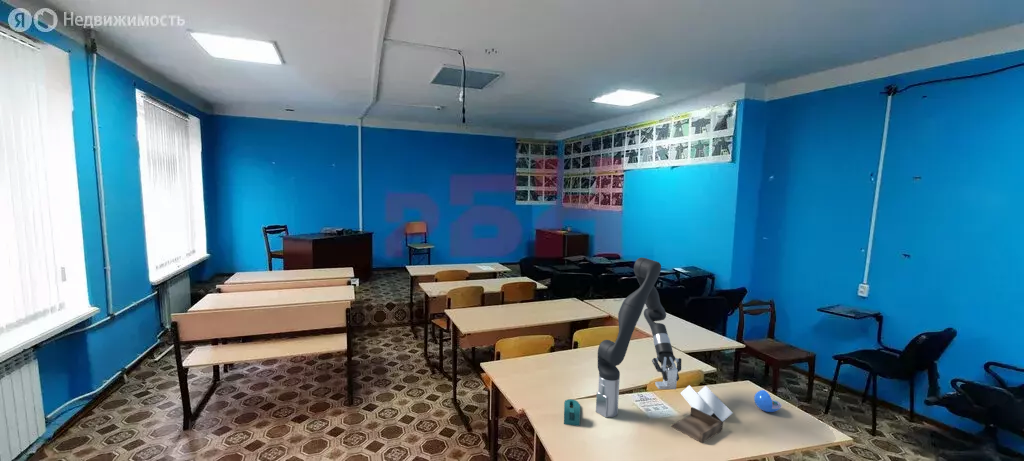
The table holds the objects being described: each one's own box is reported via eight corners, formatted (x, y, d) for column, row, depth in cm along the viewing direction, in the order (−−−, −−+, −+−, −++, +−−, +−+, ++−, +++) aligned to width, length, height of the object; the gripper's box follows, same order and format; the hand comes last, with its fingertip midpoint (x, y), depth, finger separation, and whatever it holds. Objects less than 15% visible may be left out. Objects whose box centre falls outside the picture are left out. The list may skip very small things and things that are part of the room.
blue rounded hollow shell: (786, 416, 186) (788, 396, 185) (762, 416, 185) (764, 396, 184) (771, 404, 195) (773, 385, 194) (748, 405, 195) (749, 386, 194)
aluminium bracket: (671, 384, 188) (673, 366, 187) (676, 389, 184) (677, 370, 183) (655, 384, 188) (656, 366, 187) (658, 389, 183) (660, 370, 182)
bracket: (579, 426, 174) (580, 409, 173) (563, 424, 175) (564, 407, 174) (578, 404, 191) (579, 388, 191) (564, 403, 192) (564, 387, 192)
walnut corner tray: (701, 443, 164) (702, 434, 163) (671, 426, 175) (671, 417, 175) (722, 430, 173) (722, 421, 172) (691, 415, 184) (692, 407, 184)
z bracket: (712, 430, 180) (703, 421, 180) (688, 401, 205) (680, 393, 204) (732, 413, 179) (723, 403, 179) (706, 386, 204) (698, 377, 204)
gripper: (650, 341, 191) (659, 377, 180) (680, 341, 191) (690, 378, 181) (645, 347, 197) (653, 383, 186) (674, 348, 197) (684, 383, 187)
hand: (671, 380), depth 183 cm, fingers closed on aluminium bracket, 4 cm apart
